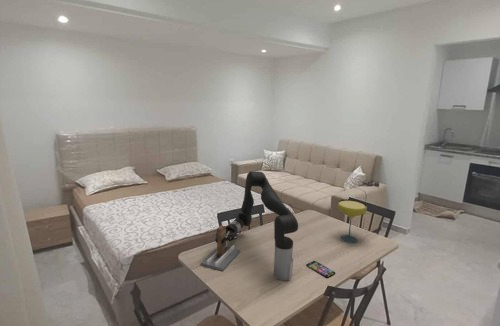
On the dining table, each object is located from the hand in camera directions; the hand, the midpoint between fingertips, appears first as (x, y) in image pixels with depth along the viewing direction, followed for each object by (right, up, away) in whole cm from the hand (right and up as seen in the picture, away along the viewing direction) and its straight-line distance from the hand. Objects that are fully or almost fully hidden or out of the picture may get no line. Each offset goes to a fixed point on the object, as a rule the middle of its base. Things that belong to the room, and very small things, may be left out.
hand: (218, 241), depth 158 cm
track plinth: (+1, -11, +5) cm, 12 cm away
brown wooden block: (+1, -8, +4) cm, 9 cm away
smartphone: (+56, -15, -4) cm, 58 cm away
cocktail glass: (+84, -7, +31) cm, 90 cm away
